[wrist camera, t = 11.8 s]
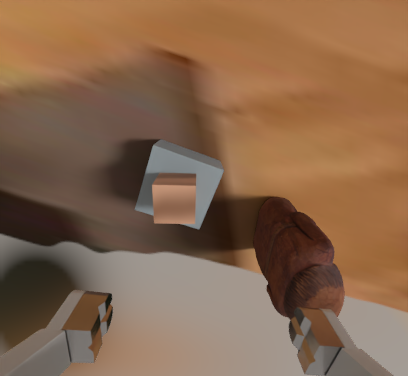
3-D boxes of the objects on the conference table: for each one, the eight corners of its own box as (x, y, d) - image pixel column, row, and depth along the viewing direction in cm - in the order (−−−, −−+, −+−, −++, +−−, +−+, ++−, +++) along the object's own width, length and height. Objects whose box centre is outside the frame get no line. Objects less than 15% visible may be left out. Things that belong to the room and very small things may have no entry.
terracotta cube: (159, 172, 28) (151, 184, 23) (196, 173, 28) (195, 185, 24) (161, 205, 30) (154, 223, 25) (195, 206, 30) (195, 224, 25)
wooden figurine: (279, 251, 40) (338, 352, 23) (247, 248, 40) (283, 349, 23) (295, 195, 36) (381, 269, 19) (260, 191, 36) (315, 264, 19)
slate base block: (161, 139, 32) (153, 144, 27) (219, 160, 34) (224, 170, 28) (144, 194, 36) (134, 209, 30) (199, 211, 37) (199, 229, 31)
